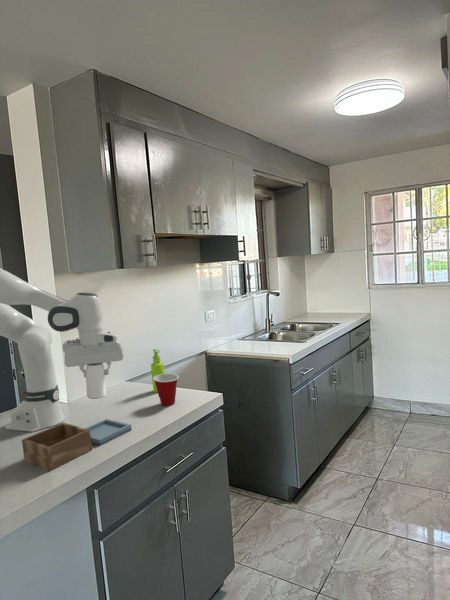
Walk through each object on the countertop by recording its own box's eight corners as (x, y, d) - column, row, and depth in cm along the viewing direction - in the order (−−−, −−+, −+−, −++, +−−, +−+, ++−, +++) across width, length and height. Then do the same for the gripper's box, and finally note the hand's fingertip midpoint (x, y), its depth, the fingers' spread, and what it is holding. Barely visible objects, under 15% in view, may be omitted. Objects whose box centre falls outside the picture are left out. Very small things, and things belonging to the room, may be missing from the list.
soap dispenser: (155, 393, 190) (151, 351, 188) (152, 390, 196) (148, 349, 194) (168, 391, 192) (163, 349, 190) (164, 387, 198) (160, 347, 196)
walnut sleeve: (24, 460, 132) (21, 439, 131) (65, 441, 144) (63, 422, 143) (50, 471, 123) (47, 448, 122) (92, 450, 135) (89, 429, 135)
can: (102, 399, 143) (100, 365, 142) (84, 399, 143) (82, 365, 142) (108, 393, 149) (106, 361, 148) (91, 393, 150) (89, 361, 149)
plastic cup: (175, 408, 168) (172, 380, 167) (151, 408, 171) (148, 380, 170) (185, 399, 178) (182, 372, 177) (162, 399, 181) (159, 372, 180)
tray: (75, 438, 146) (74, 432, 146) (107, 423, 158) (106, 418, 157) (100, 445, 138) (99, 440, 138) (131, 429, 149) (131, 424, 149)
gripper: (59, 342, 140) (64, 382, 141) (120, 335, 143) (124, 374, 144) (63, 339, 146) (68, 377, 147) (122, 333, 149) (126, 369, 151)
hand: (96, 375), depth 146 cm, fingers closed on can, 6 cm apart
